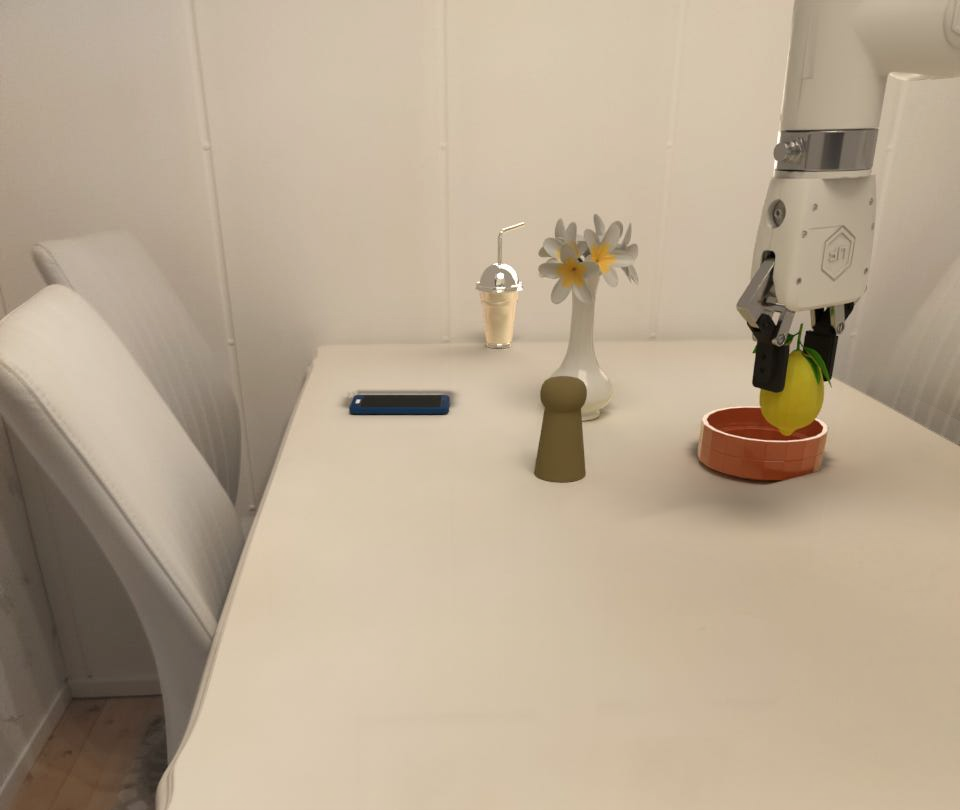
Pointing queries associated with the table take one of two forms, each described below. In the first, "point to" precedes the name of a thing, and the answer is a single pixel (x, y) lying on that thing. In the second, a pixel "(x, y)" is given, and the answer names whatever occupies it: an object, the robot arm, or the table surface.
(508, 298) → the cup with straw
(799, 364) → the lemon
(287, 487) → the table surface
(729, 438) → the bowl
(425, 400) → the cell phone
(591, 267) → the flower vase
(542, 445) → the olive game pawn
